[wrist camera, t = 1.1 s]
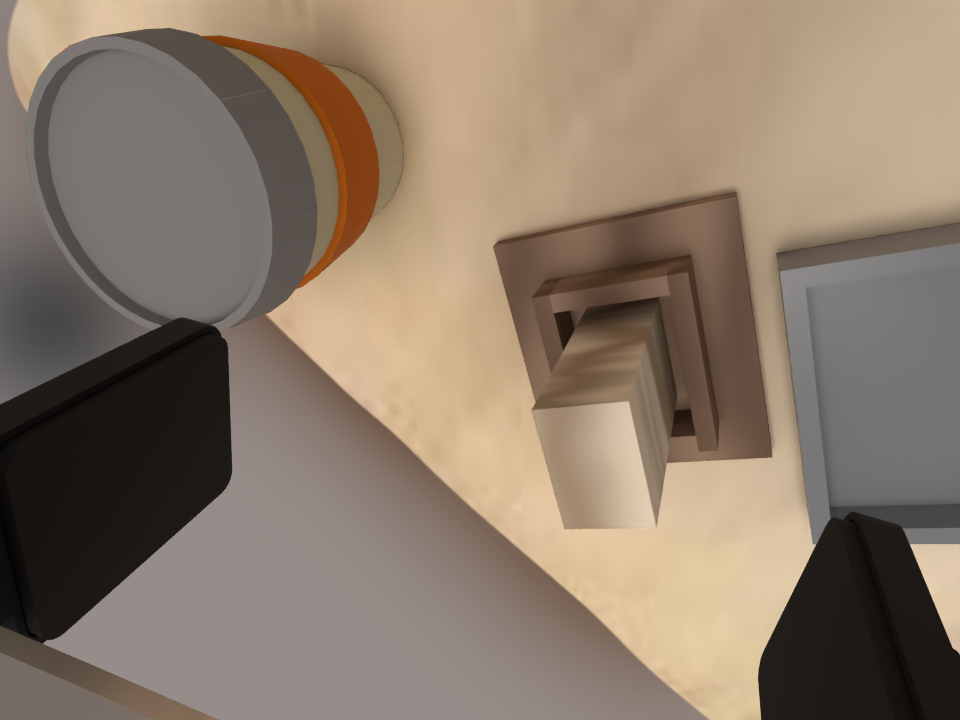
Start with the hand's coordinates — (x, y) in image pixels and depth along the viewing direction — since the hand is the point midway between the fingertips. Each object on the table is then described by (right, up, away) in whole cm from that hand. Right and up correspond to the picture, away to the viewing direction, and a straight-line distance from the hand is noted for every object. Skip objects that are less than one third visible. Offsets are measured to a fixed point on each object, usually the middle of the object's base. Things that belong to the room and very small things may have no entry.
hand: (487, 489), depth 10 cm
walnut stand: (+9, +3, +28) cm, 30 cm away
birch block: (+9, +2, +27) cm, 29 cm away
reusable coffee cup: (-9, +15, +29) cm, 34 cm away
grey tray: (+24, +1, +23) cm, 34 cm away
